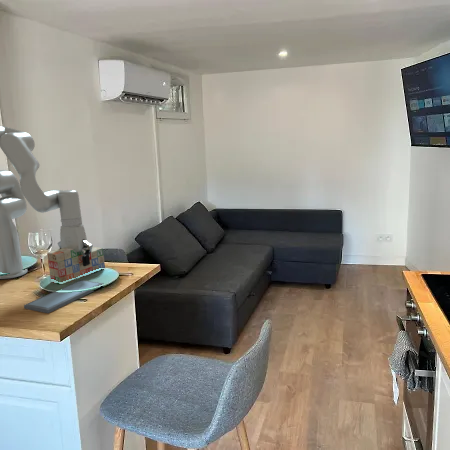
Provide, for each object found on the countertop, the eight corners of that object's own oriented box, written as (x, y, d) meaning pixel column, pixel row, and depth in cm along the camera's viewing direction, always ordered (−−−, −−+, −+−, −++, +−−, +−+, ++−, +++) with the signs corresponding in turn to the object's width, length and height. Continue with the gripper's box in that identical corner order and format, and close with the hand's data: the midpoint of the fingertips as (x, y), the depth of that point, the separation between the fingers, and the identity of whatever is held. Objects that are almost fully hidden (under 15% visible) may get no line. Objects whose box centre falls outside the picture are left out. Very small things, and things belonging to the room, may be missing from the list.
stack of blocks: (95, 267, 191) (92, 239, 188) (105, 269, 187) (102, 241, 184) (50, 282, 174) (46, 251, 171) (60, 285, 170) (56, 254, 168)
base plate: (24, 308, 149) (23, 304, 149) (81, 282, 171) (80, 279, 171) (48, 313, 144) (47, 309, 144) (103, 286, 167) (103, 283, 166)
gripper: (48, 223, 176) (54, 265, 180) (81, 225, 168) (87, 269, 172) (62, 219, 182) (68, 259, 186) (95, 221, 175) (100, 263, 178)
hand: (77, 264), depth 179 cm, fingers open, 9 cm apart
